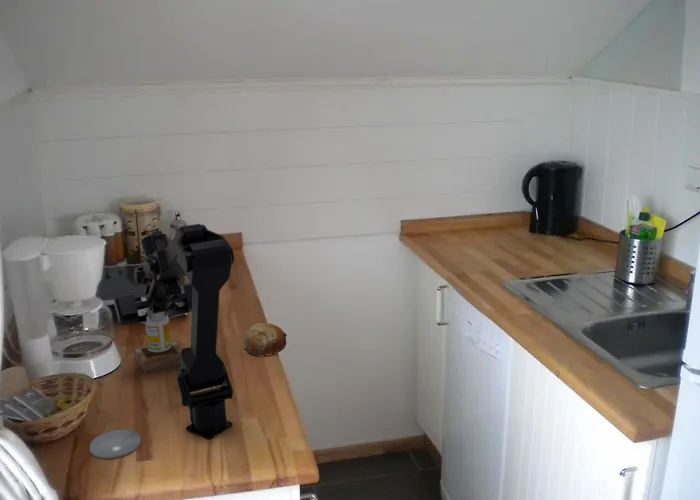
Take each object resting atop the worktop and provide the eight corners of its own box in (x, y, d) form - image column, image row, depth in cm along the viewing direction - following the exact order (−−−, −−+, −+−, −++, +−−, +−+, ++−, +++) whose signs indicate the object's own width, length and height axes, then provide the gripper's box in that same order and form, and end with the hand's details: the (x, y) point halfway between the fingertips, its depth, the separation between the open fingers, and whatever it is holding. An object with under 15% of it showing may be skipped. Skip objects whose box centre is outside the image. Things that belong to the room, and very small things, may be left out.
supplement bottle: (167, 341, 170) (164, 302, 168) (174, 349, 166) (171, 309, 163) (144, 346, 168) (140, 307, 165) (151, 354, 163) (147, 314, 160)
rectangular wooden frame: (186, 364, 166) (185, 354, 165) (145, 373, 162) (144, 363, 161) (174, 349, 174) (173, 339, 173) (135, 358, 170) (134, 348, 169)
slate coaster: (151, 441, 135) (151, 438, 134) (111, 464, 127) (110, 461, 127) (119, 427, 139) (119, 424, 139) (79, 449, 132) (79, 446, 132)
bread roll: (247, 355, 179) (232, 330, 176) (283, 332, 181) (268, 308, 178) (259, 371, 170) (243, 346, 167) (296, 347, 173) (281, 321, 169)
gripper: (196, 248, 161) (185, 282, 174) (110, 261, 153) (105, 295, 165) (210, 291, 157) (198, 323, 169) (123, 307, 148) (116, 339, 160)
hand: (155, 319), depth 166 cm, fingers closed on supplement bottle, 5 cm apart
